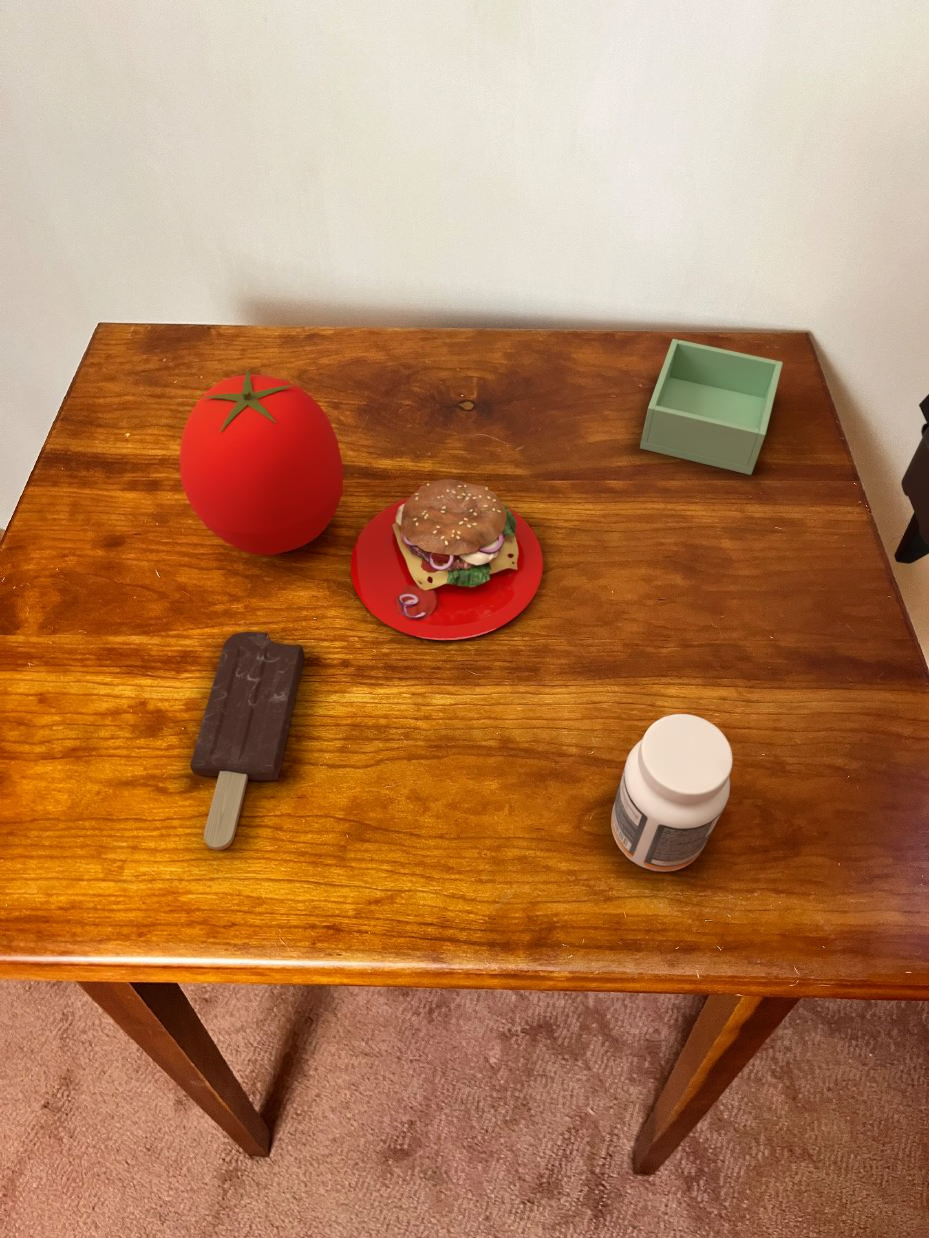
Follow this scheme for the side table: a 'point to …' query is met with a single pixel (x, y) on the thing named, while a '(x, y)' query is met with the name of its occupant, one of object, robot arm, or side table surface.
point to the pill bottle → (672, 792)
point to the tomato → (261, 464)
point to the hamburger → (447, 562)
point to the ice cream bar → (245, 724)
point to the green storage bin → (711, 406)
